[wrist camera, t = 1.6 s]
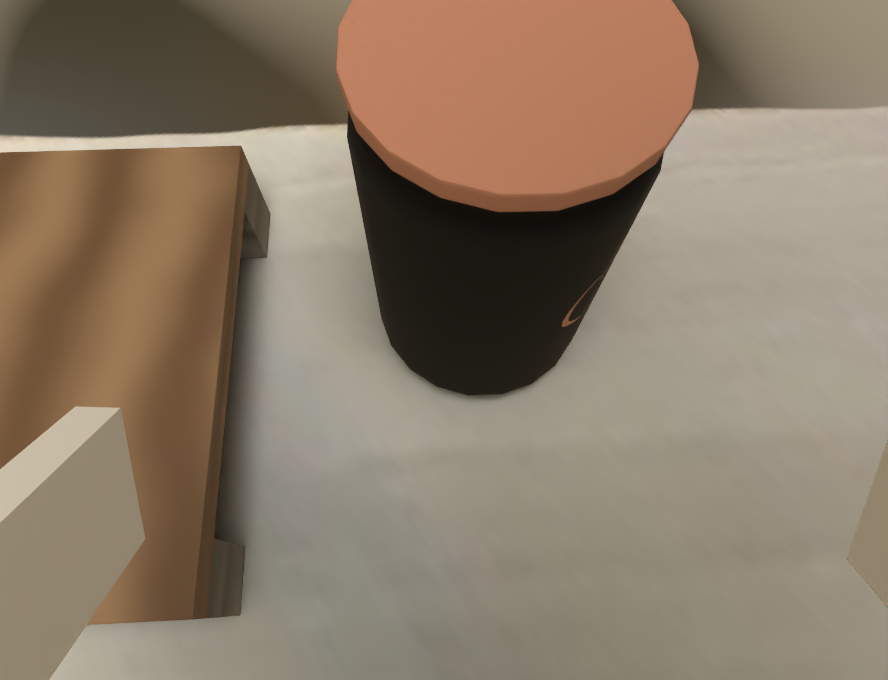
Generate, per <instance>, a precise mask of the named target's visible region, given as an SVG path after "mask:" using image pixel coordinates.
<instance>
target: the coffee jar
mask: <svg viewBox="0 0 888 680" xmlns="http://www.w3.org/2000/svg"><path fill="white" fill-rule="evenodd" d="M698 68H699V63H698V60H697V56H696V52H695V49H694V44H693V41H692V37H691V33H690V29H689V26H688V23H687V21H686V20H685V19H684V17H683V16H682V14H681V13H680V12H679V10H678V9H677V8H676V6H675V5H674V3H673V2H672V0H352V2H351V4H350V6H349V8H348V10H347V12H346V14H345V16H344V18H343V20H342V22H341V24H340V26H339V28H338V35H337V57H336V76H337V79H338V83H339V86H340V89H341V92H342V95H343V97H344V100H345V103H346V105H347V108H348V130H347V138H348V144H349V149H350V154H351V160H352V165H353V170H354V175H355V181H356V186H357V191H358V196H359V202H360V207H361V212H362V217H363V223H364V228H365V233H366V238H367V244H368V249H369V254H370V260H371V265H372V270H373V275H374V281H375V286H376V291H377V296H378V302H379V307H380V312H381V317H382V321H383V323H384V326H385V329H386V332H387V335H388V337H389V340H390V343H391V346H392V347H393V348H394V349H395V351H396V352H397V353H398V354H399V356H400V357H401V358H402V359H403V360H404V362H405V363H406V364H407V365H408V367H409V368H410V369H411V370H413V371H414V372H416V373H417V374H419V375H420V376H422V377H424V378H425V379H427V380H428V381H430V382H431V383H433V384H434V385H436V386H438V387H442V388H445V389H449V390H452V391H456V392H459V393H463V394H467V395H486V394H503V393H506V392H509V391H511V390H514V389H517V388H520V387H523V386H526V385H529V384H531V383H533V382H534V381H535V380H537V379H538V378H539V377H541V376H542V375H543V374H544V373H546V372H547V371H548V370H550V369H551V368H552V367H554V366H555V365H556V363H557V362H558V360H559V359H560V357H561V356H562V354H563V353H564V351H565V349H566V348H567V346H568V345H569V343H570V342H571V340H572V338H573V336H574V334H575V333H576V331H577V329H578V327H579V325H580V323H581V321H582V319H583V317H584V315H585V313H586V312H587V310H588V308H589V306H590V304H591V302H592V300H593V298H594V296H595V294H596V293H597V291H598V289H599V287H600V285H601V283H602V281H603V279H604V277H605V275H606V273H607V272H608V270H609V268H610V266H611V264H612V262H613V260H614V258H615V256H616V254H617V253H618V251H619V249H620V247H621V245H622V243H623V241H624V239H625V237H626V235H627V234H628V232H629V230H630V228H631V226H632V224H633V222H634V220H635V218H636V216H637V214H638V213H639V211H640V209H641V207H642V205H643V203H644V201H645V199H646V197H647V195H648V194H649V192H650V190H651V188H652V186H653V184H654V182H655V180H656V178H657V176H658V174H659V173H660V170H661V164H662V159H663V154H664V151H665V149H666V148H667V146H668V145H669V143H670V142H671V140H672V139H673V137H674V136H675V134H676V133H677V131H678V130H679V129H680V127H681V126H682V124H683V123H684V121H685V119H686V118H687V116H688V115H689V113H690V112H691V110H692V104H693V98H694V92H695V86H696V80H697V74H698Z"/></svg>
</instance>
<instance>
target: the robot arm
mask: <svg viewBox="0 0 888 680" xmlns="http://www.w3.org/2000/svg"><path fill="white" fill-rule="evenodd" d="M144 540H145V534H144V529H143V524H142V518H141V513H140V508H139V503H138V497H137V492H136V487H135V481H134V476H133V471H132V465H131V460H130V455H129V450H128V444H127V439H126V434H125V428H124V423H123V418H122V413H121V408H111V407H77V406H75V407H74V408H73V409H72V410H71V411H69V412H68V413H67V414H66V415H65V416H63V417H62V418H61V419H60V420H59V421H57V422H56V423H55V424H54V425H53V426H51V427H50V428H49V429H48V430H47V431H45V432H44V433H43V434H42V435H41V436H39V437H38V438H37V439H36V440H35V441H33V442H32V443H31V444H30V445H29V446H27V447H26V448H25V449H24V450H23V451H22V452H20V453H19V454H18V455H17V456H16V457H14V458H13V459H12V460H11V461H10V462H8V463H7V464H6V465H5V466H4V467H2V468H1V469H0V680H49V679H50V677H51V676H52V674H53V673H54V672H55V670H56V669H57V667H58V666H59V664H60V663H61V661H62V660H63V658H64V657H65V655H66V654H67V653H68V651H69V650H70V648H71V647H72V645H73V644H74V642H75V641H76V639H77V638H78V636H79V635H80V634H81V632H82V631H83V629H84V628H85V626H86V625H87V623H88V622H89V620H90V619H91V617H92V616H93V615H94V613H95V612H96V610H97V609H98V607H99V606H100V604H101V603H102V601H103V600H104V598H105V597H106V596H107V594H108V593H109V591H110V590H111V588H112V587H113V585H114V584H115V582H116V581H117V579H118V578H119V577H120V575H121V574H122V572H123V571H124V569H125V568H126V566H127V565H128V563H129V562H130V560H131V559H132V557H133V556H134V555H135V553H136V552H137V550H138V549H139V547H140V546H141V544H142V543H143V541H144ZM847 560H848V561H849V563H850V564H851V565H852V566H853V567H854V568H855V570H856V571H857V572H858V573H859V574H860V575H861V577H862V578H863V579H864V580H865V581H866V582H867V584H868V585H869V586H870V587H871V588H872V589H873V591H874V592H875V593H876V594H877V595H878V596H879V598H880V599H881V600H882V601H883V602H884V604H885V605H886V606H887V607H888V441H887V444H886V447H885V450H884V452H883V455H882V458H881V461H880V464H879V467H878V470H877V473H876V476H875V479H874V481H873V484H872V487H871V490H870V493H869V496H868V499H867V502H866V505H865V507H864V510H863V513H862V516H861V519H860V522H859V525H858V528H857V531H856V533H855V536H854V539H853V542H852V545H851V548H850V551H849V554H848V557H847Z"/></svg>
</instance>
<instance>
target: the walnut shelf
mask: <svg viewBox="0 0 888 680" xmlns="http://www.w3.org/2000/svg"><path fill="white" fill-rule="evenodd" d="M269 223H270V212H269V210H268V208H267V205H266V203H265V201H264V198H263V196H262V194H261V191H260V189H259V187H258V184H257V182H256V180H255V177H254V175H253V173H252V170H251V168H250V166H249V163H248V161H247V159H246V156H245V154H244V152H243V149H242V147H241V146H216V147H181V148H146V149H111V150H76V151H41V152H6V153H0V469H1V468H2V467H4V466H5V465H6V464H7V463H8V462H10V461H11V460H12V459H13V458H14V457H16V456H17V455H18V454H19V453H20V452H22V451H23V450H24V449H25V448H26V447H27V446H29V445H30V444H31V443H32V442H33V441H35V440H36V439H37V438H38V437H39V436H41V435H42V434H43V433H44V432H45V431H47V430H48V429H49V428H50V427H51V426H53V425H54V424H55V423H56V422H57V421H59V420H60V419H61V418H62V417H63V416H65V415H66V414H67V413H68V412H69V411H71V410H72V409H73V408H74V407H75V406H77V407H111V408H121V413H122V418H123V423H124V428H125V434H126V439H127V444H128V450H129V455H130V460H131V465H132V471H133V476H134V481H135V487H136V492H137V497H138V503H139V508H140V513H141V518H142V524H143V529H144V534H145V540H144V541H143V543H142V544H141V546H140V547H139V549H138V550H137V552H136V553H135V555H134V556H133V557H132V559H131V560H130V562H129V563H128V565H127V566H126V568H125V569H124V571H123V572H122V574H121V575H120V577H119V578H118V579H117V581H116V582H115V584H114V585H113V587H112V588H111V590H110V591H109V593H108V594H107V596H106V597H105V598H104V600H103V601H102V603H101V604H100V606H99V607H98V609H97V610H96V612H95V613H94V615H93V616H92V617H91V619H90V620H89V622H88V623H87V625H91V624H110V623H130V622H149V621H168V620H188V619H202V618H214V617H226V616H238V615H240V609H241V595H242V582H243V569H244V555H245V547H244V546H240V545H237V544H233V543H229V542H226V541H222V540H219V539H215V538H214V531H215V521H216V510H217V500H218V489H219V479H220V468H221V457H222V447H223V436H224V426H225V415H226V405H227V394H228V384H229V373H230V362H231V352H232V341H233V331H234V320H235V310H236V299H237V288H238V278H239V267H240V258H262V257H267V250H268V236H269Z"/></svg>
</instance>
